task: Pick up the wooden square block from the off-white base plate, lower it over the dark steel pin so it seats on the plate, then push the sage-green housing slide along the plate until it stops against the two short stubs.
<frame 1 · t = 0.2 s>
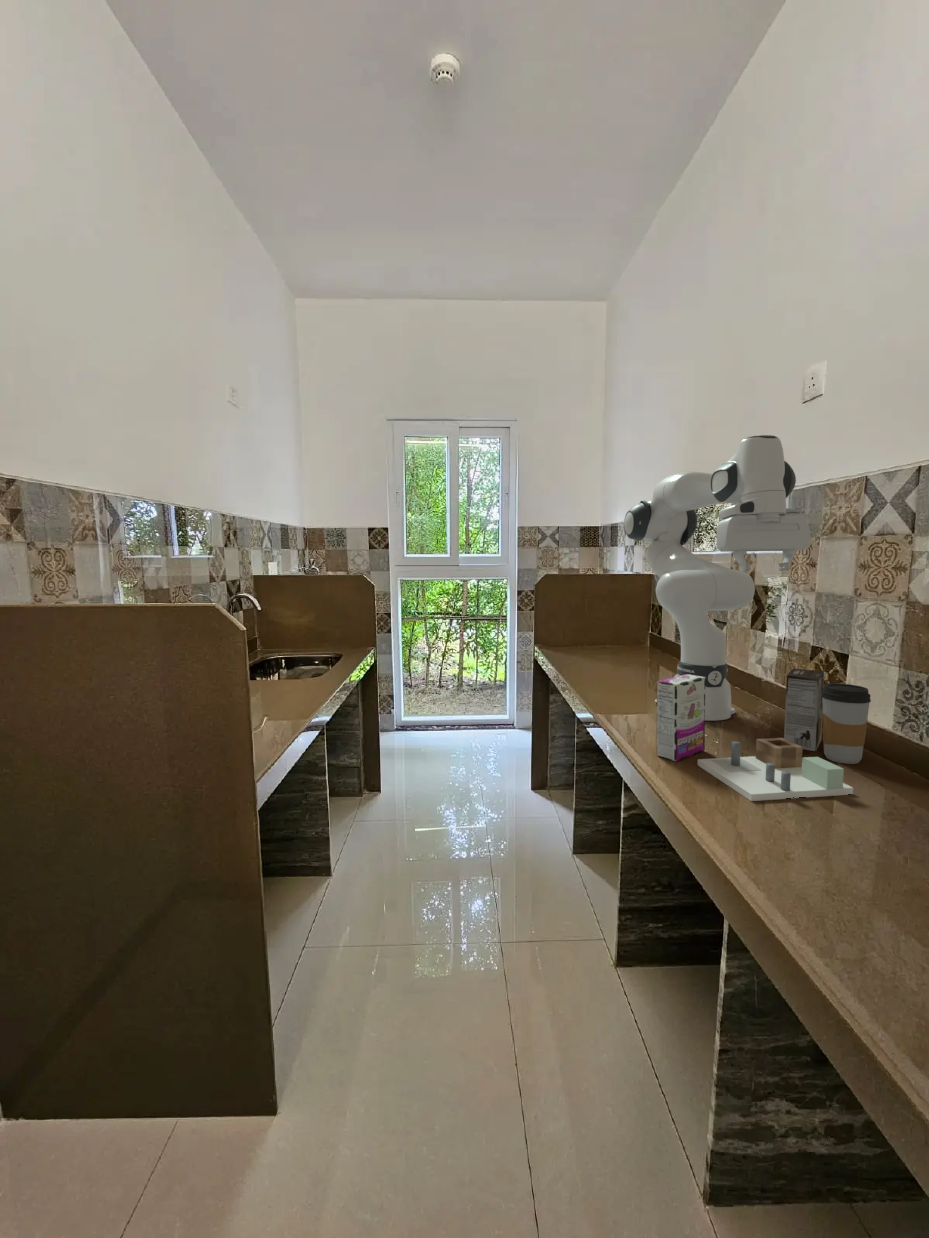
hand: (764, 571, 118), 39 cm above the counter, tool pointing down, fingers open, 8 cm apart
wooden square block: (778, 762, 106), point 1 cm above the counter, touching base plate
housing slide: (822, 772, 96), point 3 cm above the counter, slide at 0.0 cm
coffee cup: (842, 759, 111), on the counter
coffee box: (802, 744, 121), on the counter
candy bar box: (680, 754, 116), on the counter
base plate: (769, 778, 101), on the counter
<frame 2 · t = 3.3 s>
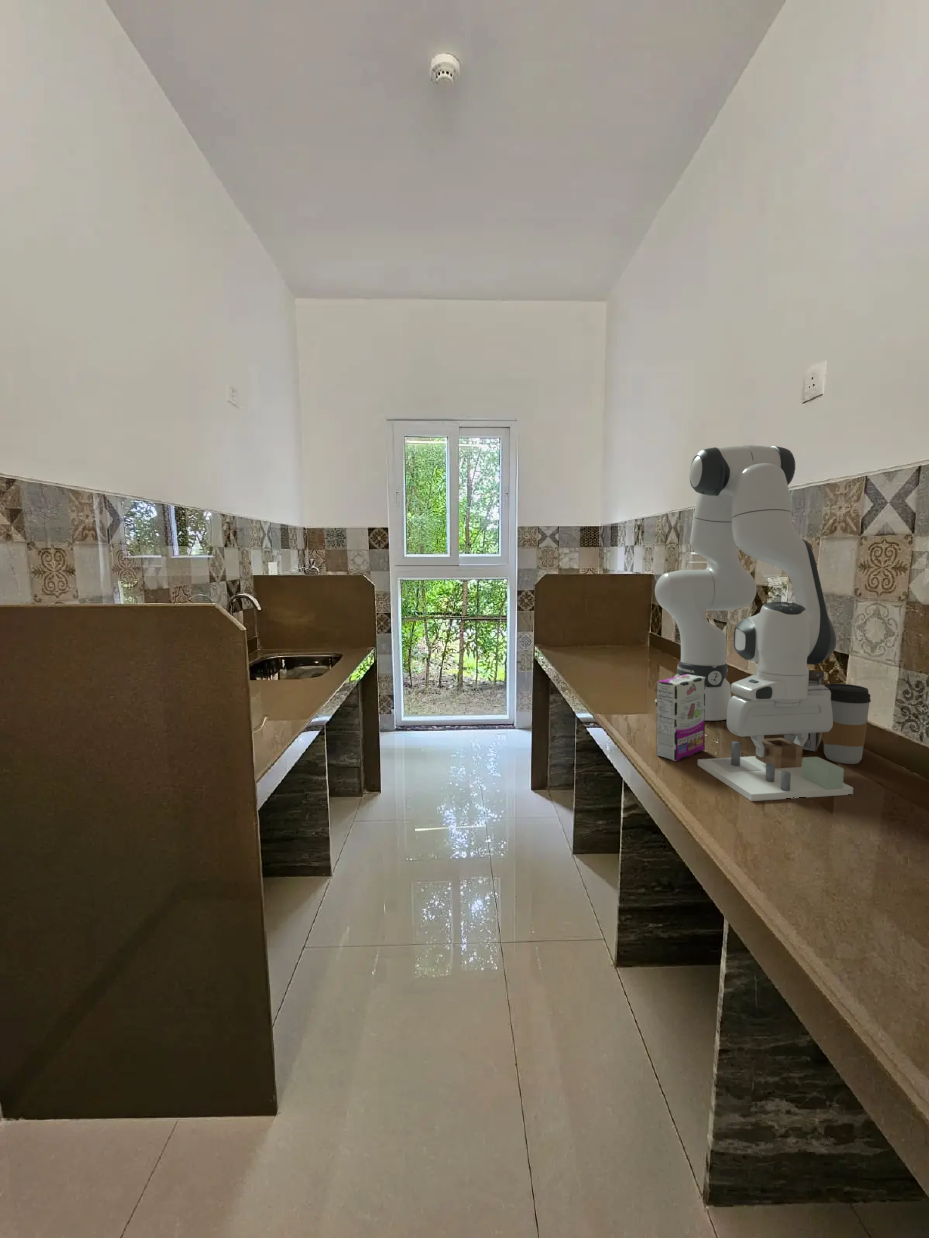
hand: (778, 755, 106), 3 cm above the counter, tool pointing down, fingers closed on wooden square block, 6 cm apart
wooden square block: (778, 762, 106), point 1 cm above the counter, touching base plate, gripper
everything else where it was.
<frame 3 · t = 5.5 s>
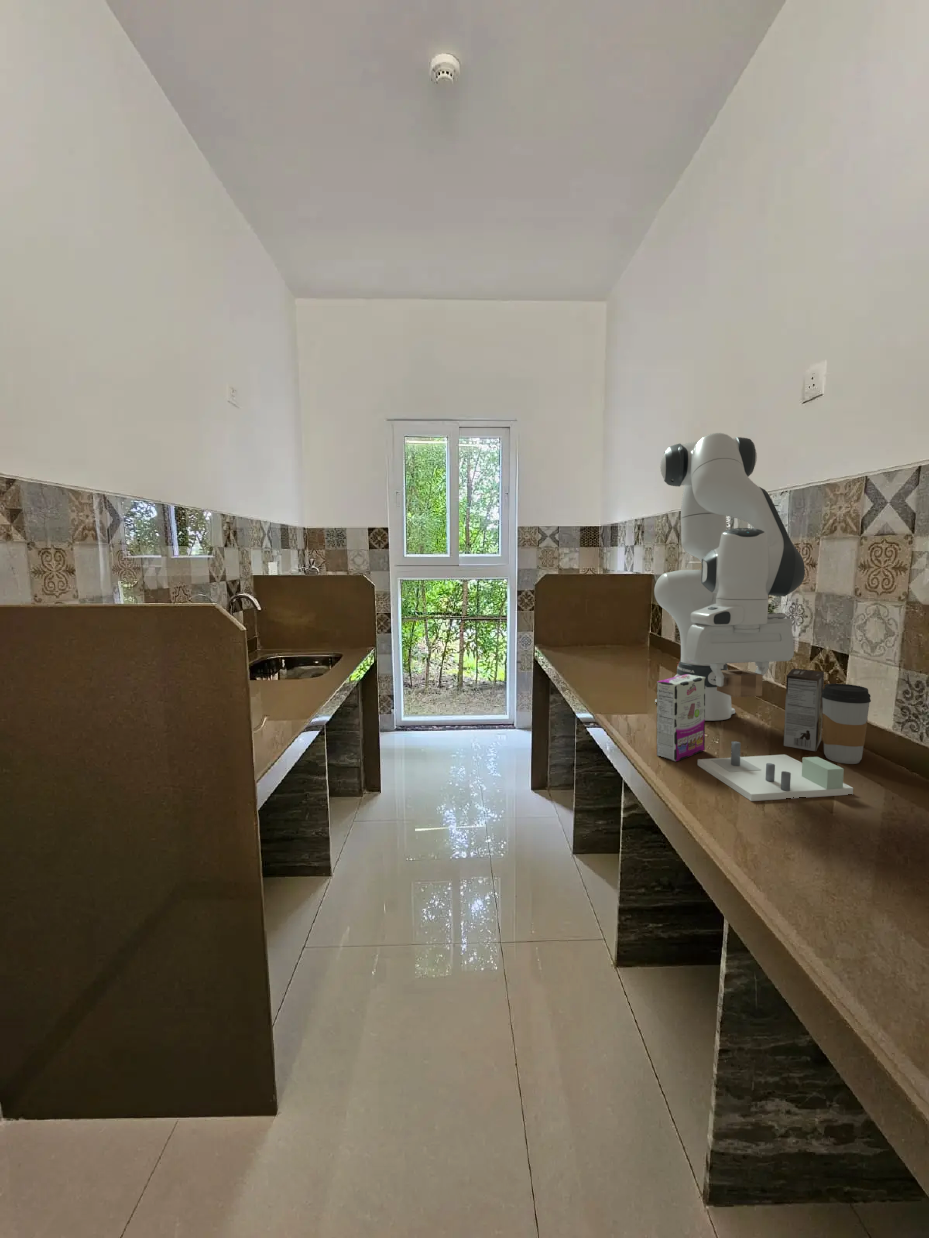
hand: (738, 685, 104), 17 cm above the counter, tool pointing down, fingers closed on wooden square block, 6 cm apart
wooden square block: (738, 693, 104), point 16 cm above the counter, touching gripper
everything else where it was.
when the fingers open (4 cm above the counter, at t = 8.0 s): wooden square block stays where it is, resting on base plate.
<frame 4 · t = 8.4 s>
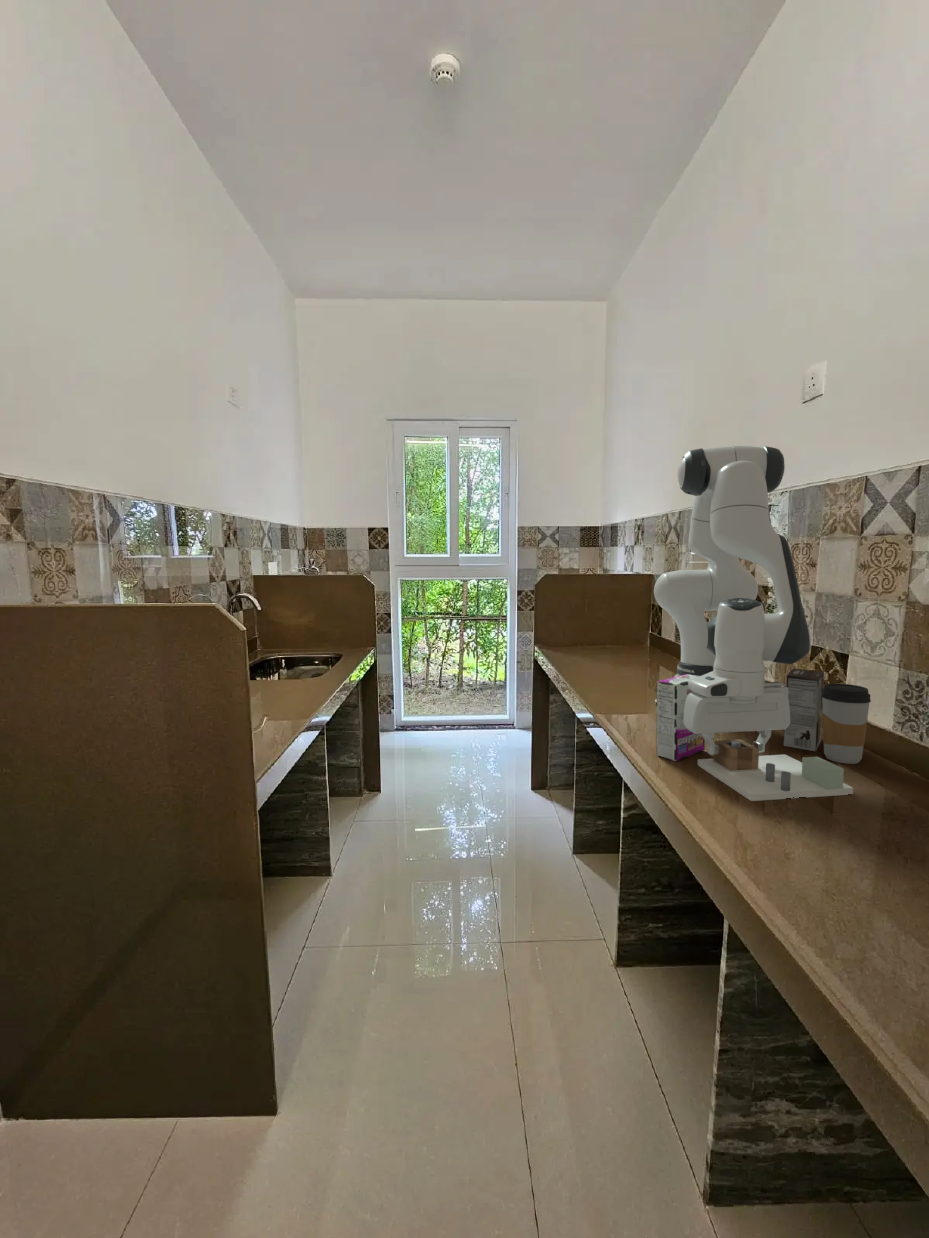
hand: (735, 752, 105), 4 cm above the counter, tool pointing down, fingers open, 8 cm apart
wooden square block: (735, 764, 105), point 1 cm above the counter, touching base plate
everything else where it was.
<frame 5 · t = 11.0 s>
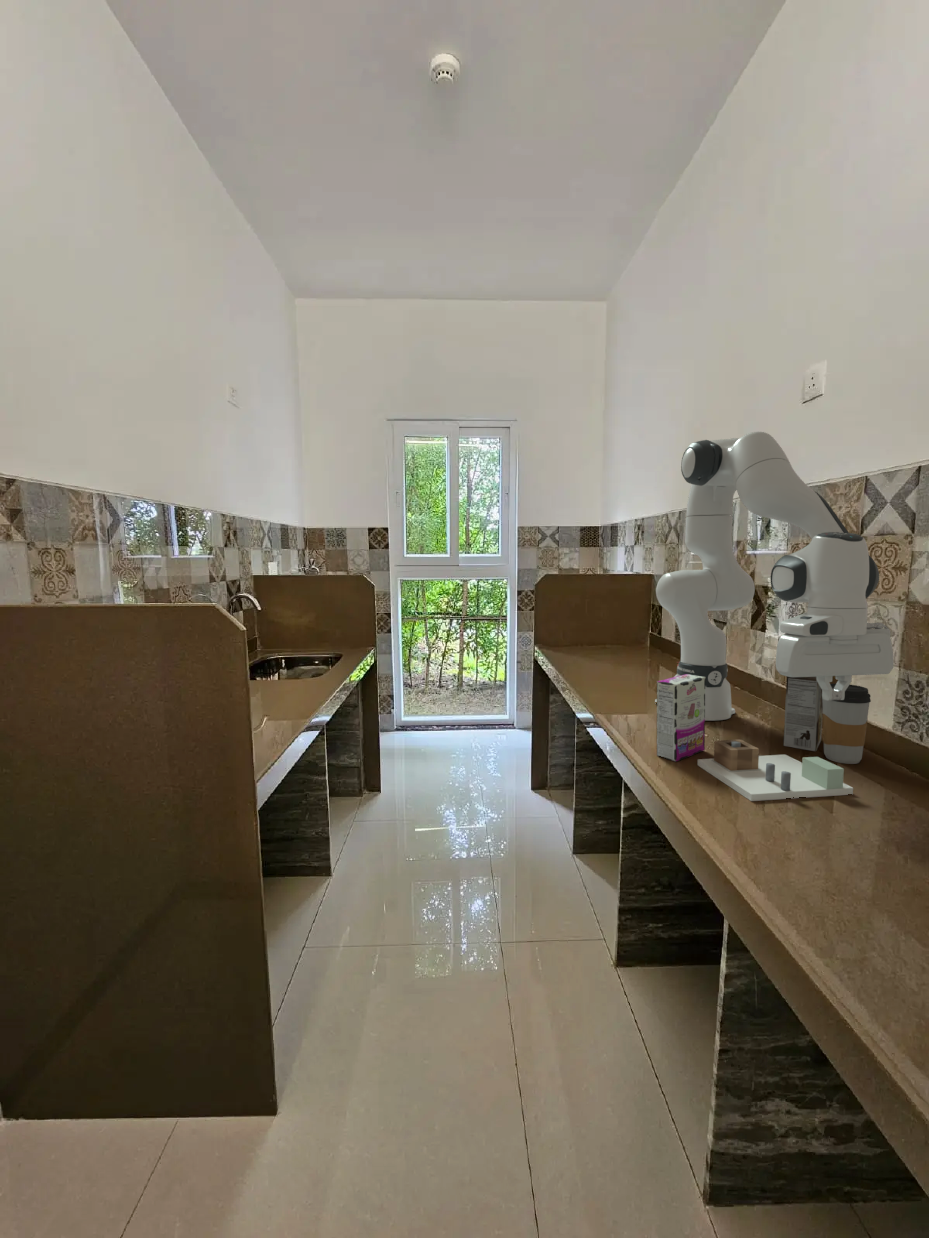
hand: (833, 699, 97), 16 cm above the counter, tool pointing down, fingers closed
nothing on the counter moved.
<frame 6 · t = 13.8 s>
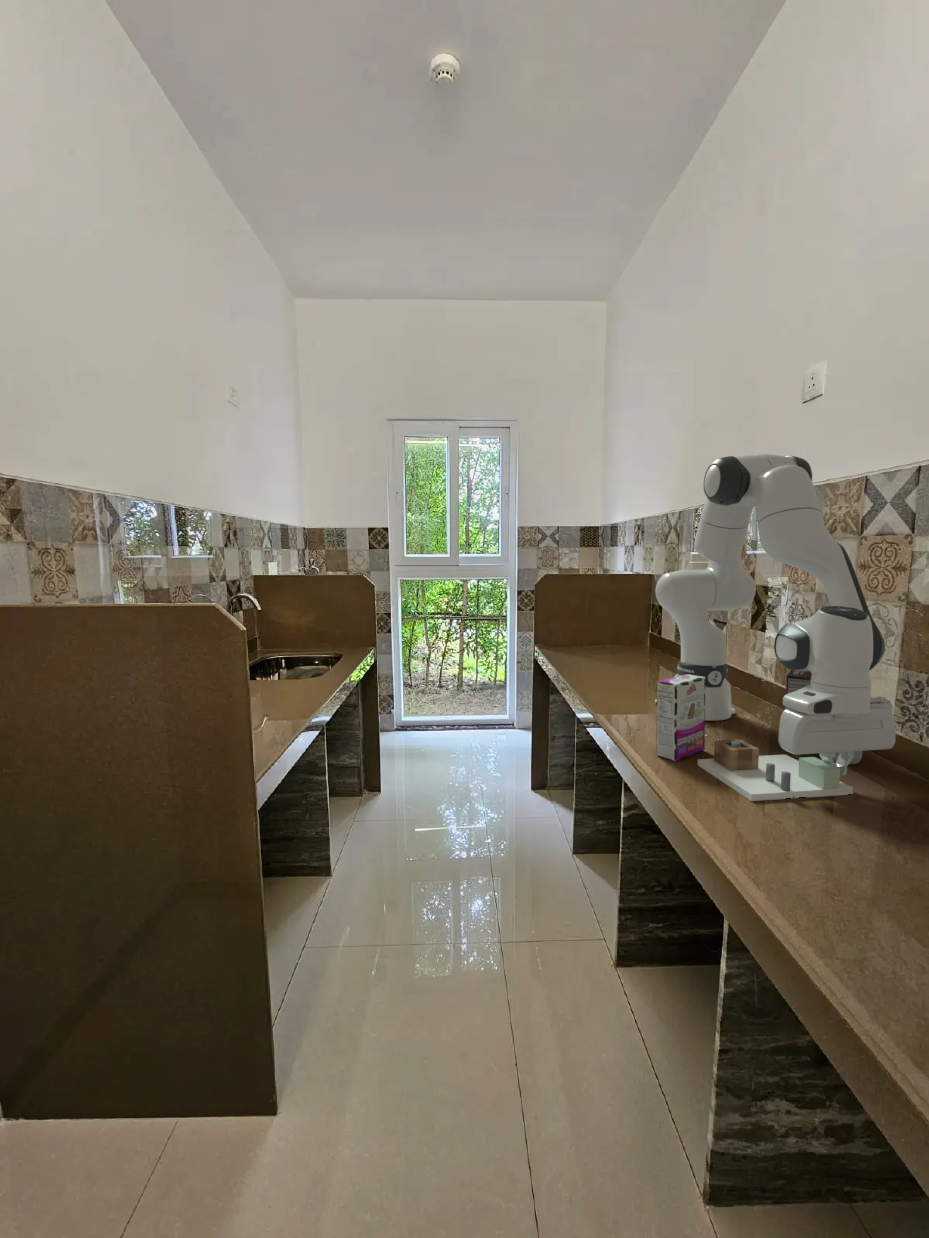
hand: (835, 774, 97), 3 cm above the counter, tool pointing down, fingers closed
housing slide: (818, 772, 96), point 3 cm above the counter, slide at 0.7 cm, touching gripper
everything else where it was.
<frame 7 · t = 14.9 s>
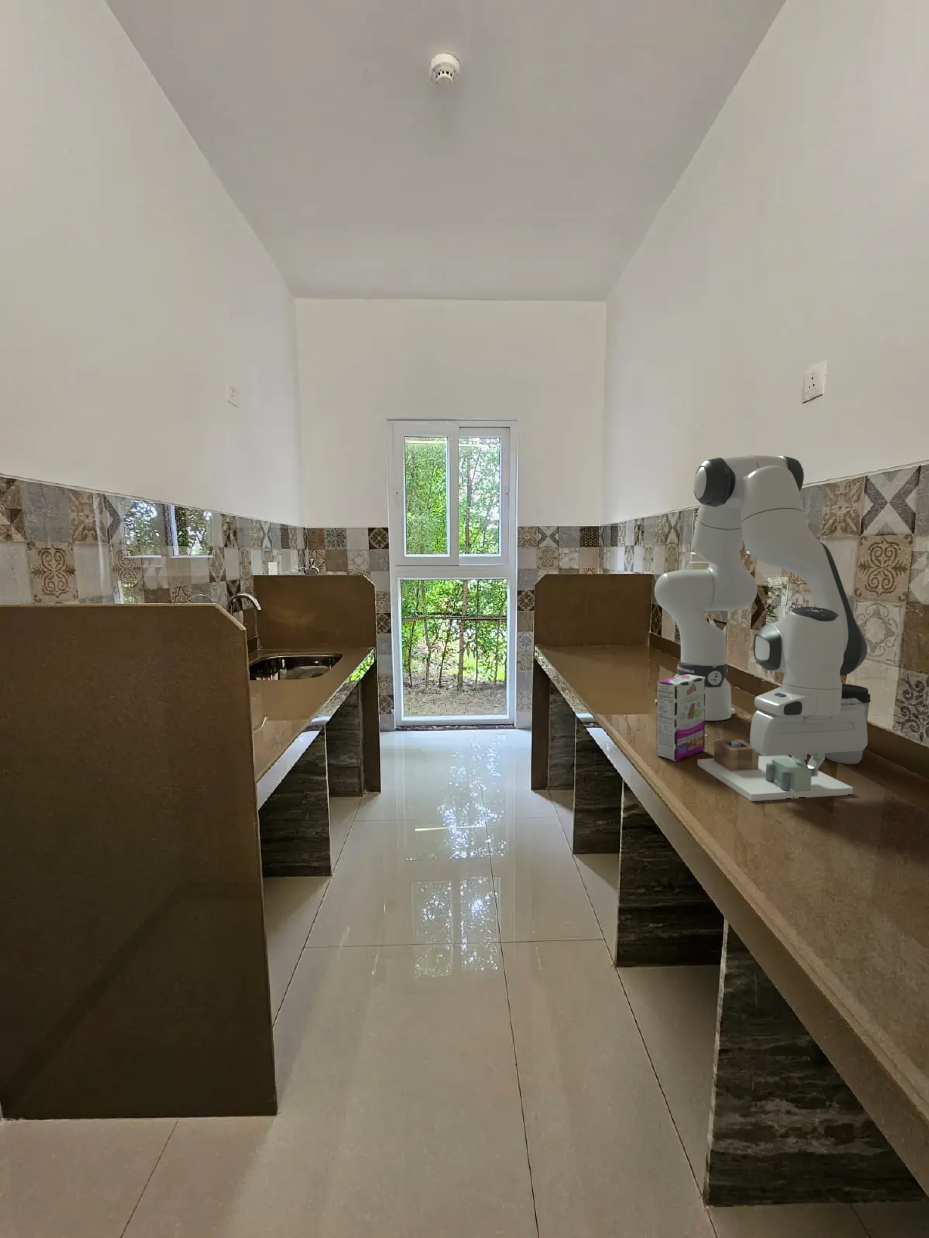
hand: (807, 776, 96), 3 cm above the counter, tool pointing down, fingers closed
housing slide: (790, 774, 96), point 3 cm above the counter, slide at 6.0 cm, touching gripper
everything else where it was.
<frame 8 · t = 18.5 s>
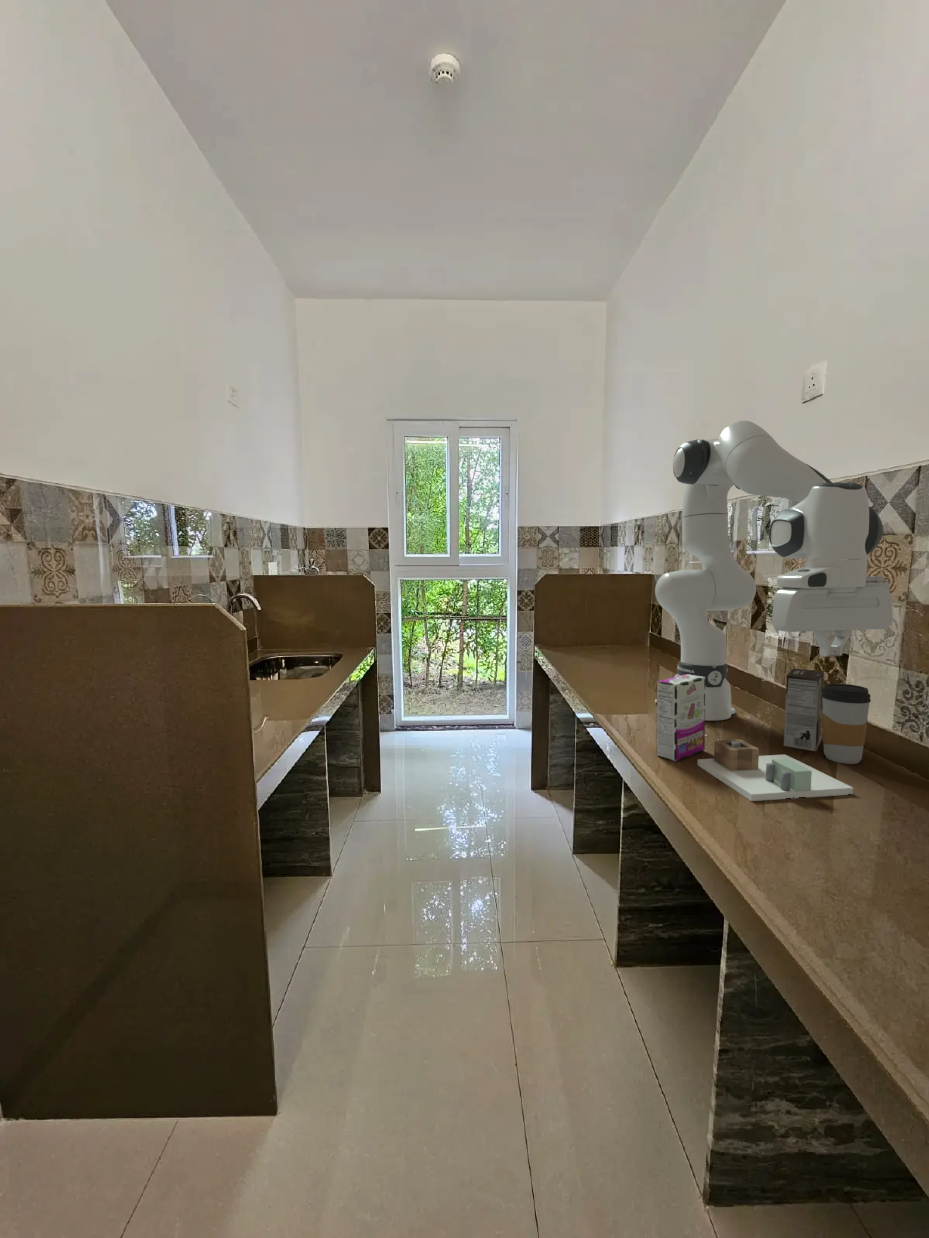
hand: (830, 655, 94), 24 cm above the counter, tool pointing down, fingers closed
housing slide: (790, 774, 96), point 3 cm above the counter, slide at 6.0 cm
everything else where it was.
at the end: wooden square block 0.0 cm from the target spot, point 1.3 cm above the counter; wooden square block tilted 0°; housing slide slide at 6.0 cm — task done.
